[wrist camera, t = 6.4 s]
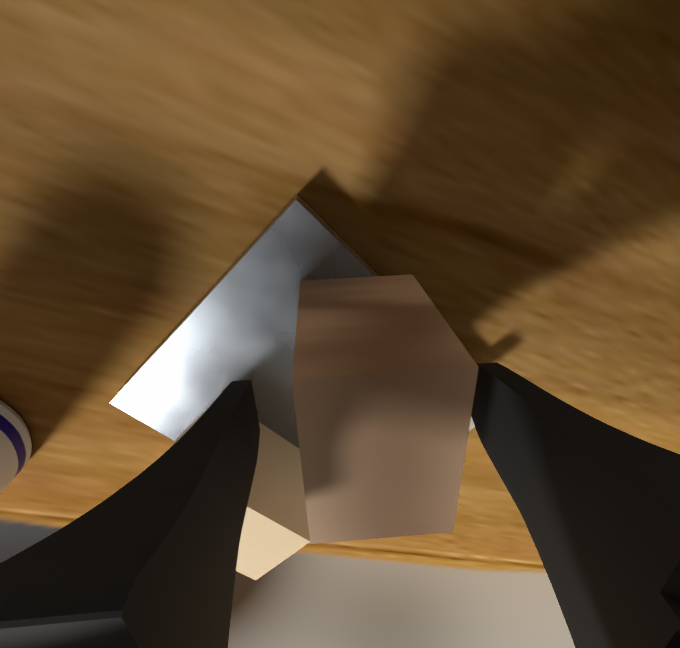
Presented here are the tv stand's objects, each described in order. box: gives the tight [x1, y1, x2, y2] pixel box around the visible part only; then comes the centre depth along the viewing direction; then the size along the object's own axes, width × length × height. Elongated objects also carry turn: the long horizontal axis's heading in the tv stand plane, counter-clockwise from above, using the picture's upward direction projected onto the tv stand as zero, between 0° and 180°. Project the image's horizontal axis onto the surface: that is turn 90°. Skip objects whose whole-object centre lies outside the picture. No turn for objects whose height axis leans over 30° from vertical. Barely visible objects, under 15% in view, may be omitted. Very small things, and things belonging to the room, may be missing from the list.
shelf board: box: [110, 194, 475, 543], centre depth 16 cm, size 11×11×2 cm
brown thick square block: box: [292, 274, 479, 544], centre depth 12 cm, size 4×6×6 cm
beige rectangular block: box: [174, 414, 310, 580], centre depth 15 cm, size 5×3×4 cm, turn 45°
